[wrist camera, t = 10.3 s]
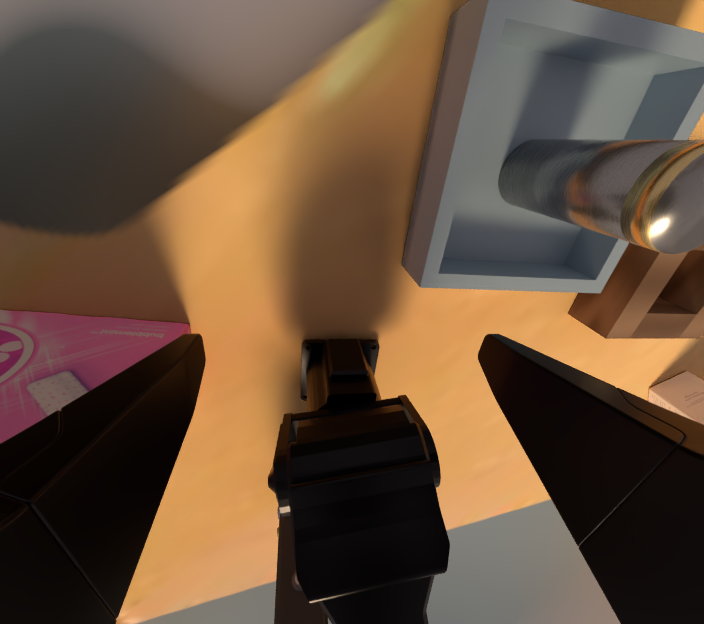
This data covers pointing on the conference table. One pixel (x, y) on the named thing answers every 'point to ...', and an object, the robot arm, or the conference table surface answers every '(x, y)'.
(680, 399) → the ink cartridge box
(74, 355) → the gum box
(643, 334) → the socket block
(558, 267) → the tray
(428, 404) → the conference table surface
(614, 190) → the steel pin
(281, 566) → the card reader
